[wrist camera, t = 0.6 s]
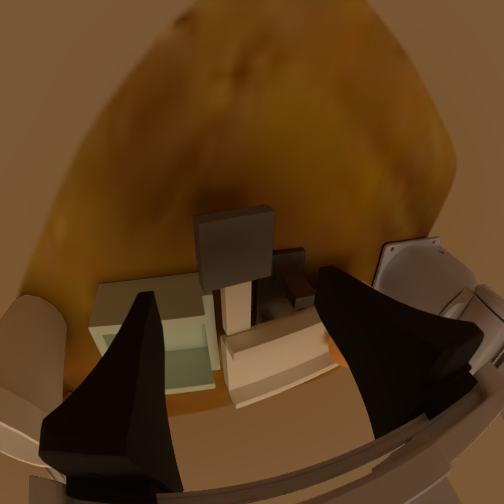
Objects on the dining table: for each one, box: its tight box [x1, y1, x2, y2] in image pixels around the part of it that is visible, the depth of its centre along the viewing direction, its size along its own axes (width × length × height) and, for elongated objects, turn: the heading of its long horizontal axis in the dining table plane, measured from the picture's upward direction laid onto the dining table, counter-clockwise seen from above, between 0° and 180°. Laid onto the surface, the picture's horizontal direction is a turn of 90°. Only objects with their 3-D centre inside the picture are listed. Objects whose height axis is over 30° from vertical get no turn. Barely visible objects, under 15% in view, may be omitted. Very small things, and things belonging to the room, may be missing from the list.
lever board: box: [193, 204, 374, 409], centre depth 20 cm, size 14×15×5 cm
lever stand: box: [254, 248, 316, 326], centre depth 24 cm, size 4×11×6 cm, turn 179°
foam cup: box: [0, 295, 67, 468], centre depth 15 cm, size 10×9×13 cm
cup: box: [88, 272, 220, 394], centre depth 21 cm, size 9×9×5 cm
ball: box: [328, 336, 349, 368], centre depth 21 cm, size 4×4×4 cm
